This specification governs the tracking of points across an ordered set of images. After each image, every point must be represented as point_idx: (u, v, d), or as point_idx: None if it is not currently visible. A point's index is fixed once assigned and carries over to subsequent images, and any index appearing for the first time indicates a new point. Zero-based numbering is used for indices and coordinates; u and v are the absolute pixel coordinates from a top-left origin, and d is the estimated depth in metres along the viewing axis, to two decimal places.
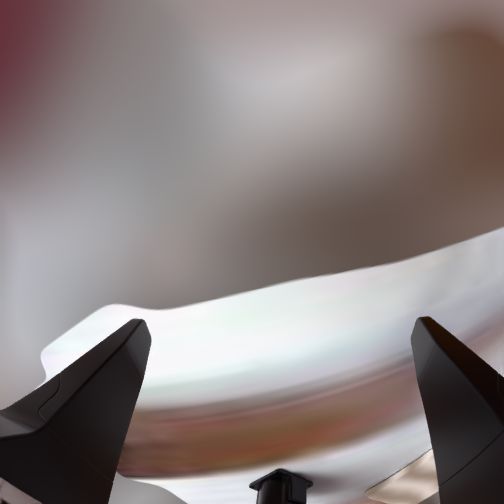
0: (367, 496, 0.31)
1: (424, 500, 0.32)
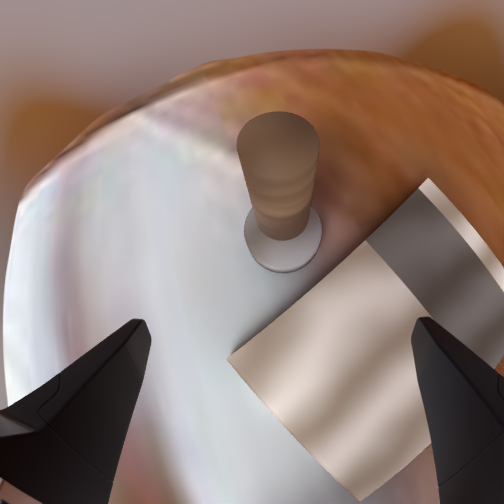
0: (358, 498, 0.16)
1: None
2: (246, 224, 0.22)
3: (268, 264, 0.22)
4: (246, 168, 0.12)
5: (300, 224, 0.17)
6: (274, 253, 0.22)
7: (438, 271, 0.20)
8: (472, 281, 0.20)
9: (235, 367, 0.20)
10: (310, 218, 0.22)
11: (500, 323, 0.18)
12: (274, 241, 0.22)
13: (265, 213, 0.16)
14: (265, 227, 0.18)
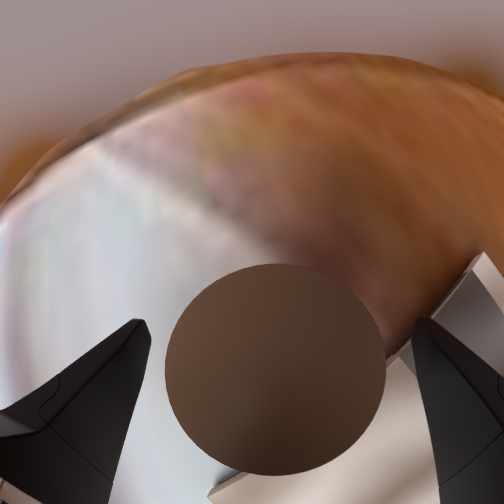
0: None
1: None
2: None
3: None
4: None
5: None
6: None
7: None
8: None
9: None
10: None
11: None
12: None
13: None
14: None
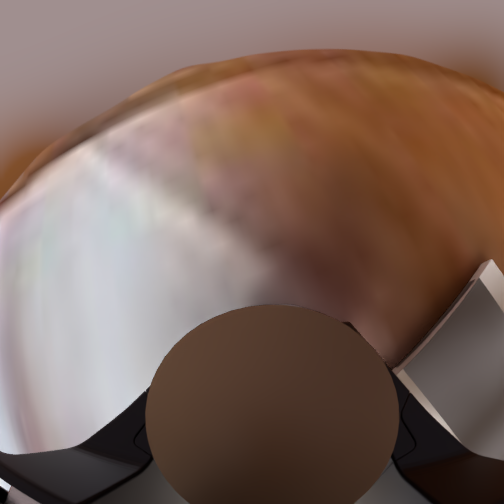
0: None
1: None
2: None
3: None
4: None
5: None
6: None
7: (488, 396, 0.12)
8: None
9: None
10: None
11: None
12: None
13: None
14: None
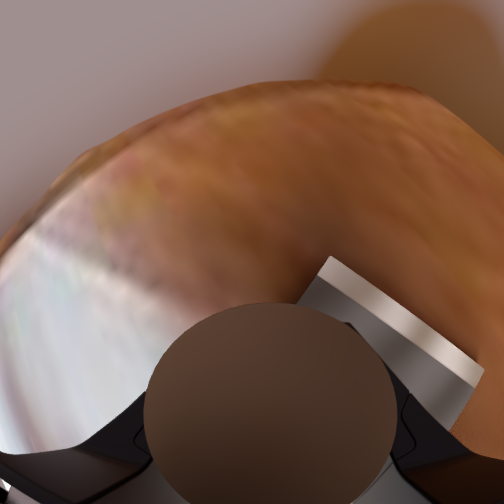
0: None
1: None
2: None
3: None
4: None
5: None
6: None
7: None
8: (399, 368, 0.18)
9: None
10: None
11: (441, 401, 0.17)
12: None
13: None
14: None
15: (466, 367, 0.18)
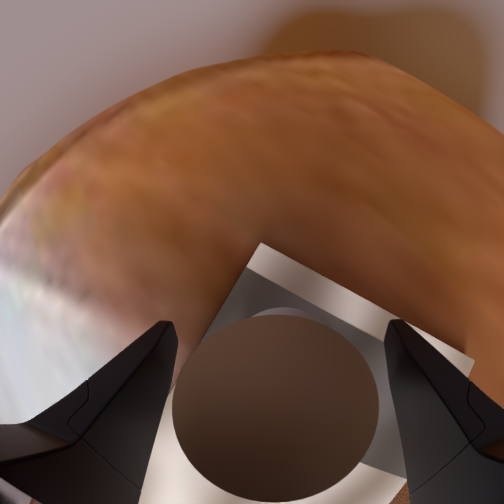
0: None
1: (374, 462, 0.14)
2: None
3: None
4: None
5: None
6: None
7: None
8: None
9: None
10: None
11: None
12: None
13: None
14: None
15: (450, 360, 0.15)
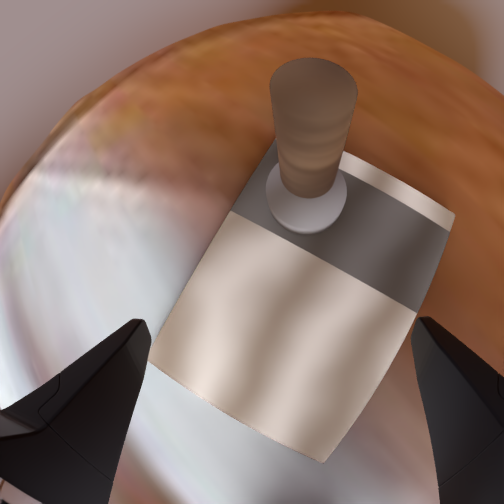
0: (320, 461, 0.19)
1: (385, 289, 0.20)
2: (268, 183, 0.21)
3: (292, 225, 0.20)
4: (281, 111, 0.11)
5: (329, 180, 0.16)
6: (297, 213, 0.20)
7: None
8: (364, 209, 0.22)
9: (154, 364, 0.22)
10: (334, 178, 0.20)
11: (416, 241, 0.21)
12: (298, 201, 0.20)
13: (296, 165, 0.14)
14: (292, 183, 0.16)
15: (434, 210, 0.21)
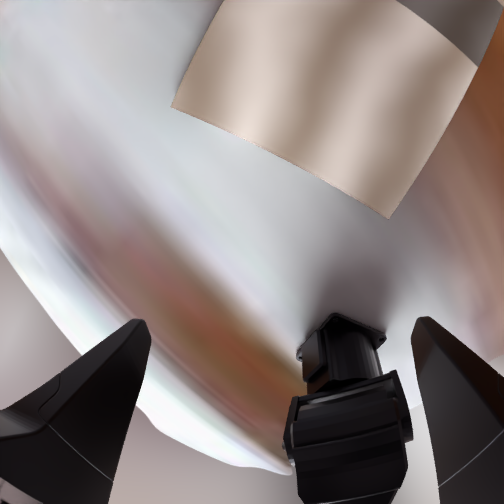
0: (385, 216, 0.19)
1: (447, 34, 0.12)
2: None
3: None
4: None
5: None
6: None
7: None
8: None
9: (183, 110, 0.17)
10: None
11: (473, 1, 0.10)
12: None
13: None
14: None
15: None
